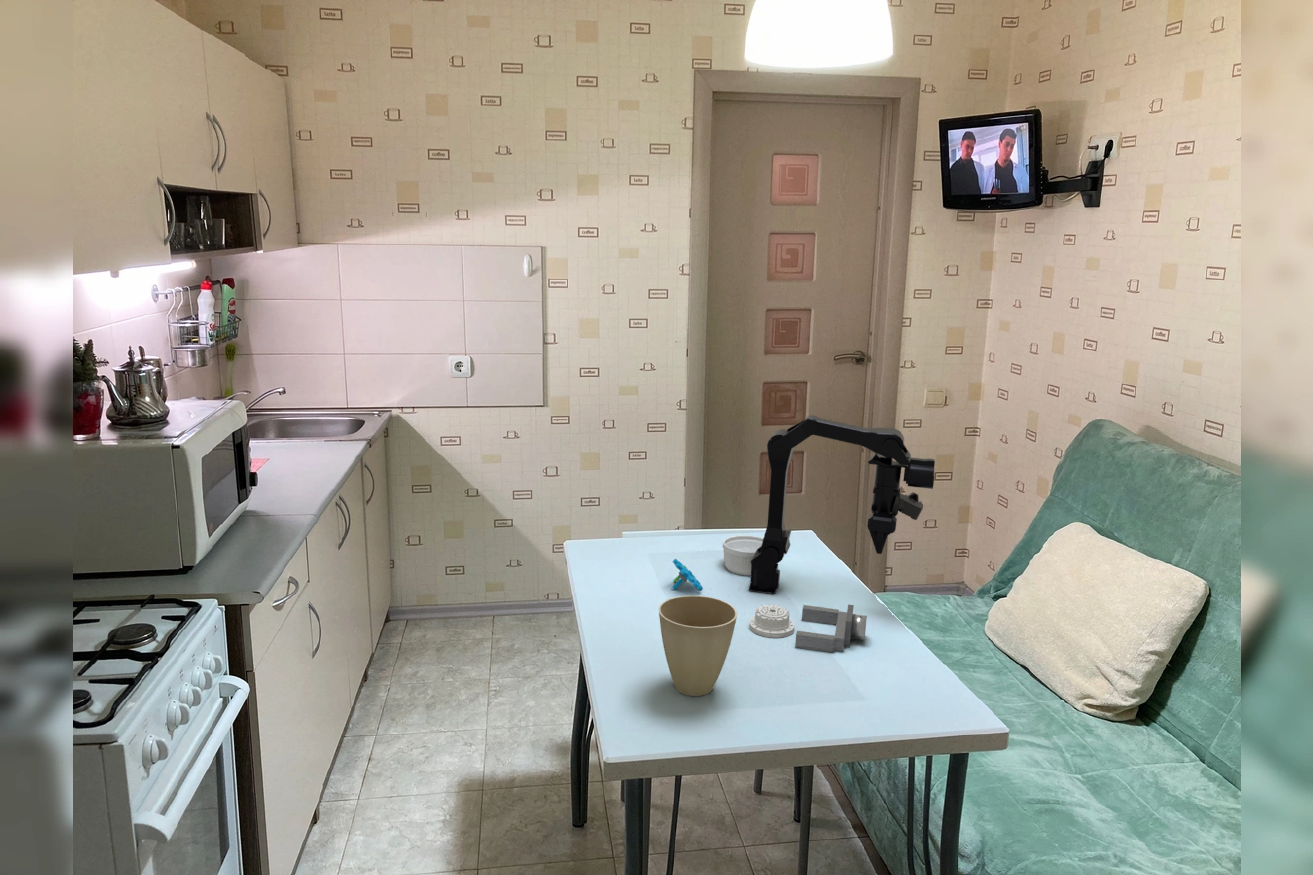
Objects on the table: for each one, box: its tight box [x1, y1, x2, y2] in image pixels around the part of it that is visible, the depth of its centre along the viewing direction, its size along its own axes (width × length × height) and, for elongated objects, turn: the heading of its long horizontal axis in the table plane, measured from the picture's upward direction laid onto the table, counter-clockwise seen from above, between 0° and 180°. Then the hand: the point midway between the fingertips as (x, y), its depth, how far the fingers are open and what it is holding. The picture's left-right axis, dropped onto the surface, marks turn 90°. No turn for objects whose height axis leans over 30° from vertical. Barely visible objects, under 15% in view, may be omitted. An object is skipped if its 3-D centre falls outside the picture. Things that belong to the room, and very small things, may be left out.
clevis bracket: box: [794, 604, 868, 653], centre depth 200 cm, size 14×16×6 cm
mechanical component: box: [748, 604, 795, 639], centre depth 204 cm, size 10×4×10 cm
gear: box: [671, 558, 704, 592], centre depth 224 cm, size 11×6×10 cm
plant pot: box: [658, 595, 738, 697], centre depth 176 cm, size 15×15×16 cm
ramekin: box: [722, 534, 764, 577], centre depth 238 cm, size 13×13×7 cm
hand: (880, 547), depth 216 cm, fingers open, 9 cm apart
